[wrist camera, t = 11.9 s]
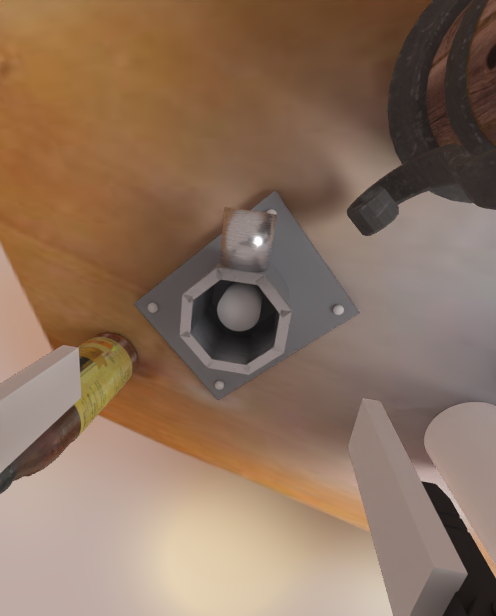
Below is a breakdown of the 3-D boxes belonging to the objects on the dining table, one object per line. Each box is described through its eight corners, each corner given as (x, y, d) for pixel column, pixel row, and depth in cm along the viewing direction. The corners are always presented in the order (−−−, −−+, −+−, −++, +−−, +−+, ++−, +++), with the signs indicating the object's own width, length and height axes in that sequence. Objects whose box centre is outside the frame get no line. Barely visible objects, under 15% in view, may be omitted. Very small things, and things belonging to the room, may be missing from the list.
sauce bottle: (124, 322, 33) (-76, 472, 14) (149, 370, 35) (0, 560, 16) (75, 340, 35) (-165, 499, 16) (102, 385, 36) (-87, 578, 17)
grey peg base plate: (275, 190, 28) (274, 186, 22) (357, 309, 30) (375, 332, 25) (137, 301, 32) (107, 321, 27) (219, 395, 35) (208, 431, 29)
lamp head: (278, 337, 31) (278, 379, 23) (201, 325, 31) (177, 362, 24) (300, 216, 27) (309, 219, 20) (212, 203, 27) (188, 202, 20)
